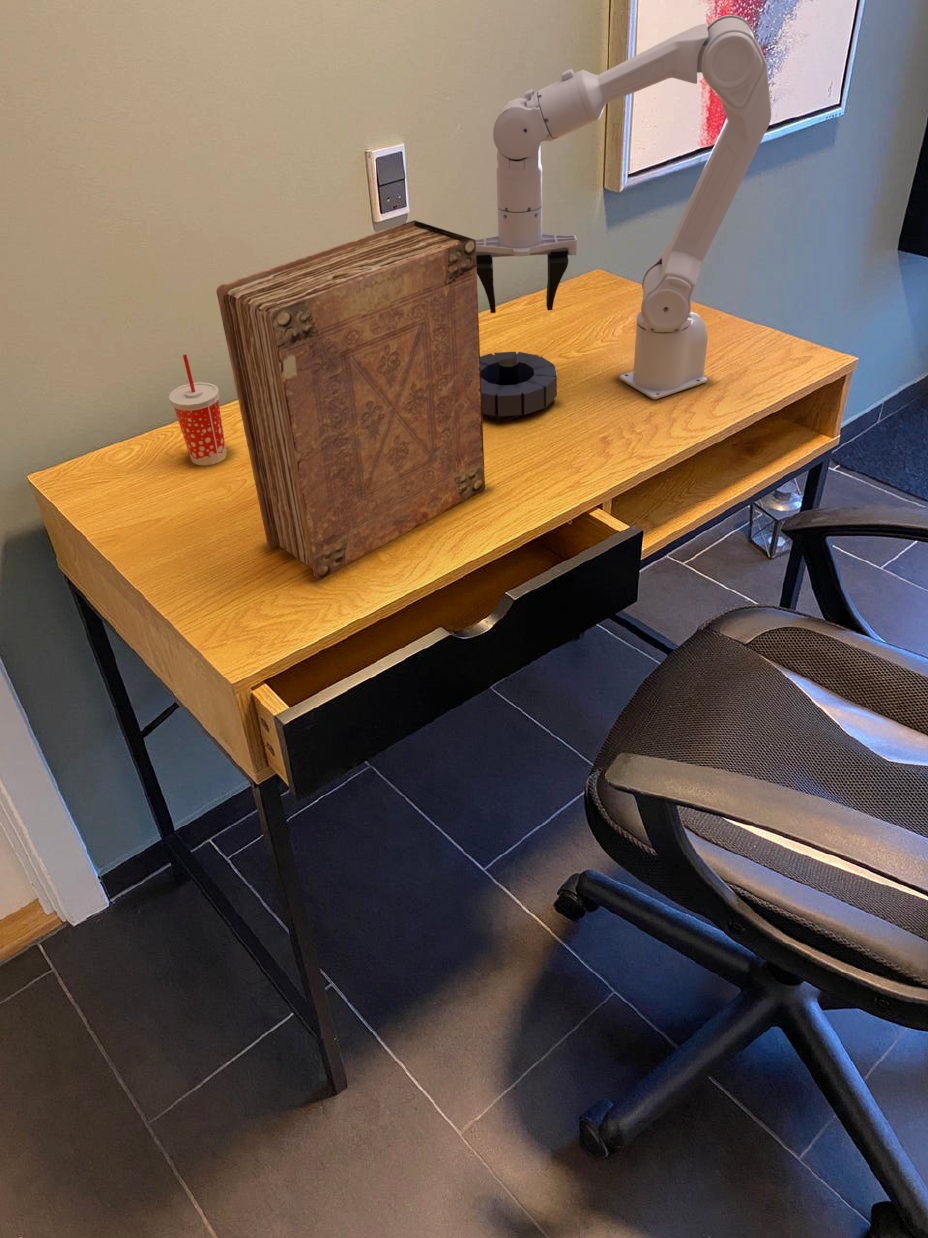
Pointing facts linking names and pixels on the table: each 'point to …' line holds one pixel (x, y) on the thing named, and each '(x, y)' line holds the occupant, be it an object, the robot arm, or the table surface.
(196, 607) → the table surface
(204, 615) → the table surface
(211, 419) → the beverage cup
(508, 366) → the peg stand
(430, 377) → the book
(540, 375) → the hoop
